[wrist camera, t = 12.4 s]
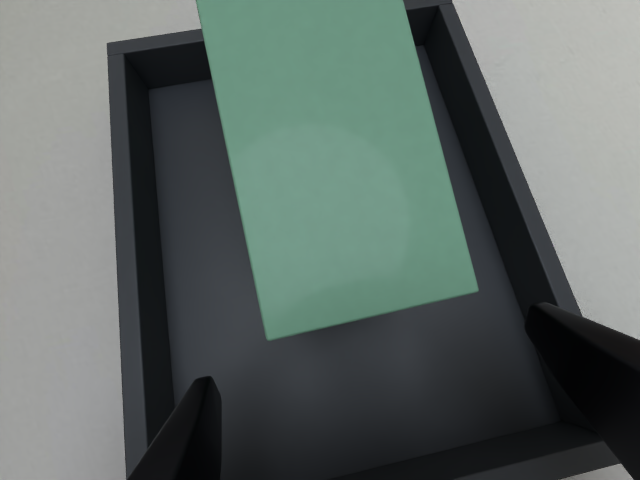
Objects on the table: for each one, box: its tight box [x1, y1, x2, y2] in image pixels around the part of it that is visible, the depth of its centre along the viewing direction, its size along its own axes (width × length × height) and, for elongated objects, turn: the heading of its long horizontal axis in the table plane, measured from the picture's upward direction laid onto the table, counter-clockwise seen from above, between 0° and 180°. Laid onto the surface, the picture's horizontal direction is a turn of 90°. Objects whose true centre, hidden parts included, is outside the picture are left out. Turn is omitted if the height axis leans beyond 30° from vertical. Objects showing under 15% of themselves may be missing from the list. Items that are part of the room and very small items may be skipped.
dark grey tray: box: [107, 0, 620, 480], centre depth 15 cm, size 22×18×3 cm
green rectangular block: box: [196, 0, 479, 341], centre depth 12 cm, size 5×8×14 cm
